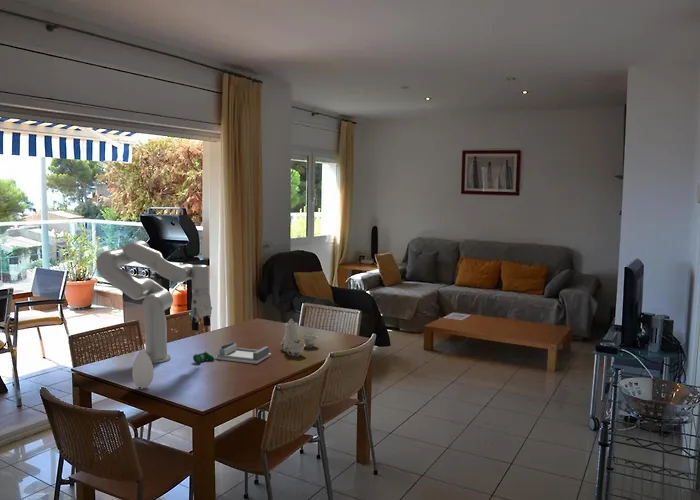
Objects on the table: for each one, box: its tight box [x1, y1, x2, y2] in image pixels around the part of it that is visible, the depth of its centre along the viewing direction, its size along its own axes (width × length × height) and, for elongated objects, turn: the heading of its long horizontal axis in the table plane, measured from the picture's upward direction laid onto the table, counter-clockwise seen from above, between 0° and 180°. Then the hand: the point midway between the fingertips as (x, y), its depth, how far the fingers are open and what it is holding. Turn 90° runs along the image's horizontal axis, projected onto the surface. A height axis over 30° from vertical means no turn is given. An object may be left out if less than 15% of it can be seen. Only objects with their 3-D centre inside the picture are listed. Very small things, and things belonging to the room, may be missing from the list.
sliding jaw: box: [218, 340, 237, 355], centre depth 272 cm, size 12×2×4 cm, turn 162°
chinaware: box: [280, 318, 319, 357], centre depth 282 cm, size 28×17×17 cm, turn 168°
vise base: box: [214, 345, 272, 365], centre depth 269 cm, size 15×22×4 cm
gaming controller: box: [192, 350, 215, 366], centre depth 261 cm, size 9×4×6 cm
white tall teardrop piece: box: [131, 343, 155, 389], centre depth 223 cm, size 8×8×18 cm
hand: (201, 328), depth 260 cm, fingers open, 9 cm apart
